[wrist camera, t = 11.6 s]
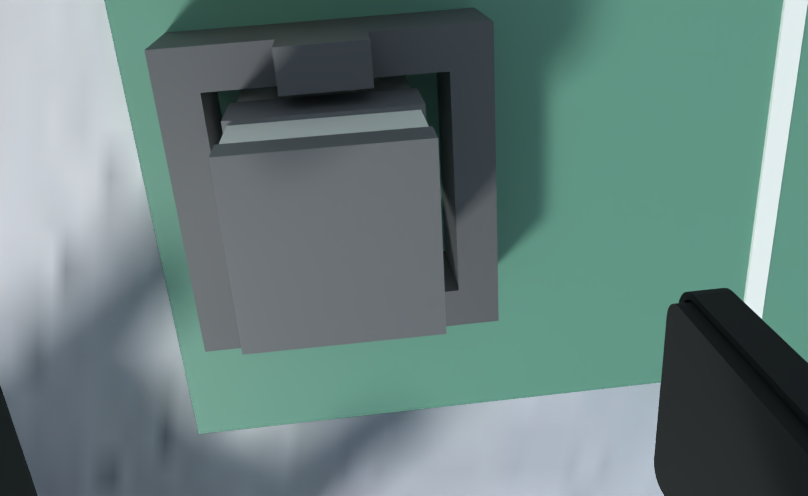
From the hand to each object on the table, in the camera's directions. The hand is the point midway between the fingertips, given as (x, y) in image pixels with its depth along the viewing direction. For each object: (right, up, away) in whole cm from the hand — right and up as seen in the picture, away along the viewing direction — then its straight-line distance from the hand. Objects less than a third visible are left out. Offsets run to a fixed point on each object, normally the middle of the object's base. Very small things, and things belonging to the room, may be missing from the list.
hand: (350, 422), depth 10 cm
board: (+5, +6, +11) cm, 14 cm away
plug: (-1, +5, +10) cm, 11 cm away
